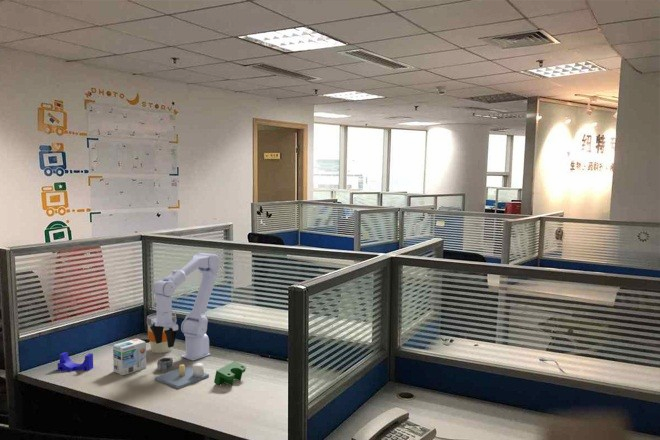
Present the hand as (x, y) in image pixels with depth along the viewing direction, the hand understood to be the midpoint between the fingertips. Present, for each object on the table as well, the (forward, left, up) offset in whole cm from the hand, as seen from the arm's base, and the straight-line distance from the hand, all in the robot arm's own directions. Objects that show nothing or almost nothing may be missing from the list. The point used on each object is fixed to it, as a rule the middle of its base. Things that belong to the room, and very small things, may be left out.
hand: (164, 344), depth 205 cm
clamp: (-7, +30, -10) cm, 32 cm away
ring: (0, 0, -10) cm, 10 cm away
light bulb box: (+9, -10, -10) cm, 17 cm away
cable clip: (+22, -27, -10) cm, 36 cm away
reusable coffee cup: (-13, -20, -10) cm, 26 cm away
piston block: (+2, +13, -10) cm, 16 cm away
